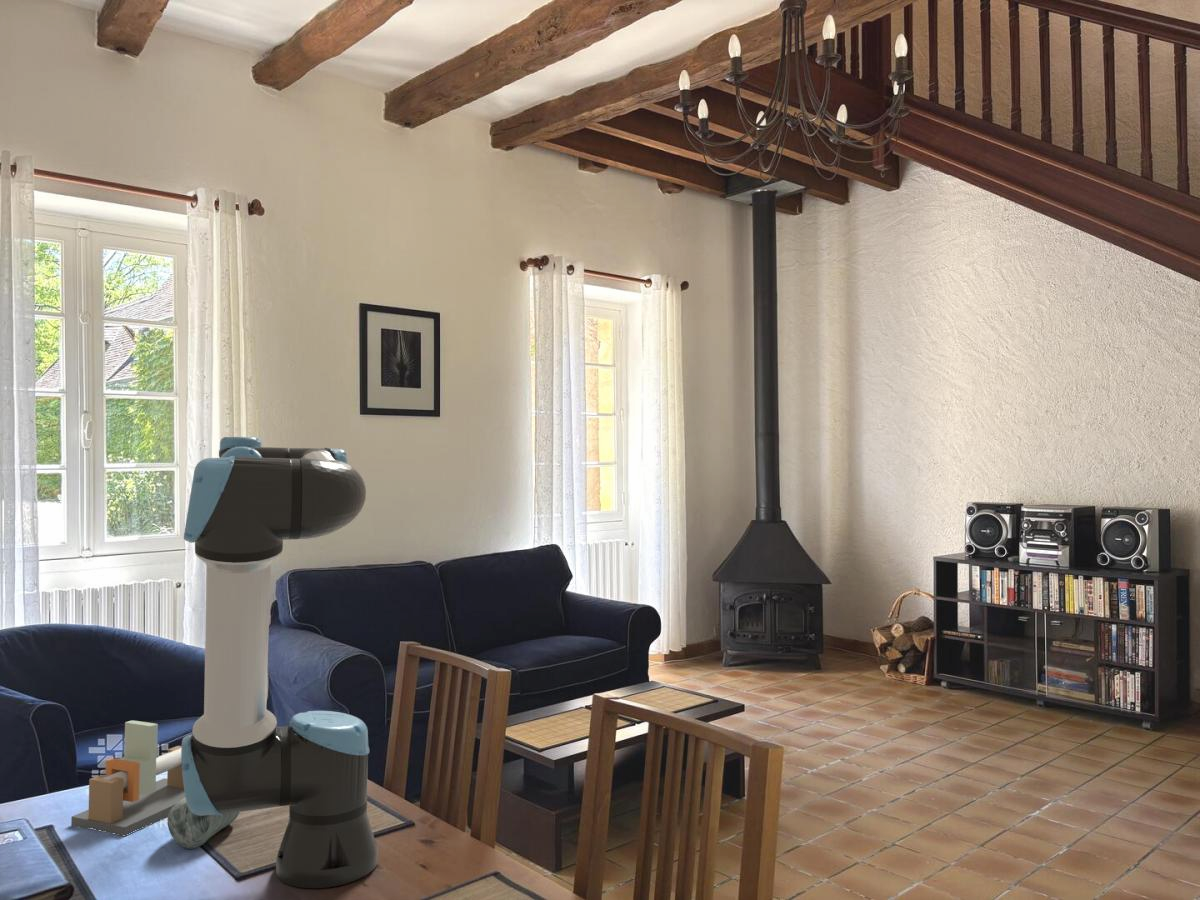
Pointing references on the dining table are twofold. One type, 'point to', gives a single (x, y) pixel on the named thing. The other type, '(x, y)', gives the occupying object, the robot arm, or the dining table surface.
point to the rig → (130, 816)
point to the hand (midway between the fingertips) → (236, 641)
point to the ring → (133, 776)
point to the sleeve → (142, 752)
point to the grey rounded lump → (195, 825)
